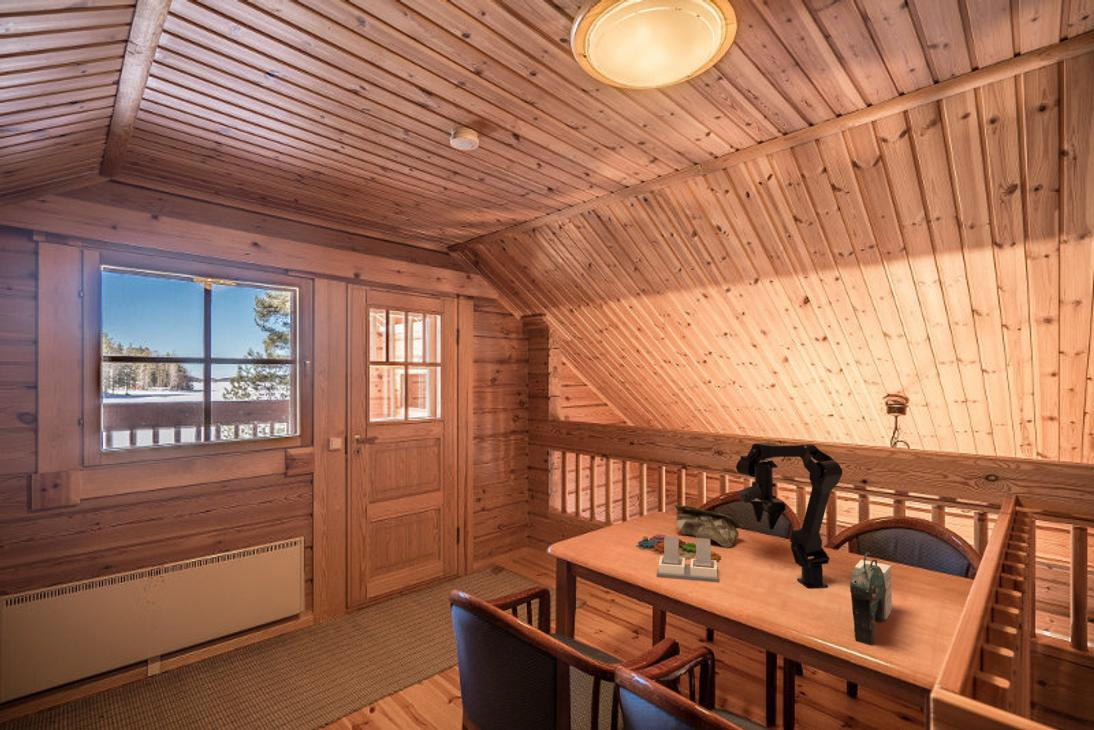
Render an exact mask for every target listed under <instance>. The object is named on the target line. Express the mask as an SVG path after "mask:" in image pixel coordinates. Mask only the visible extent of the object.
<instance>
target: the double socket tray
mask: <svg viewBox="0 0 1094 730" xmlns="http://www.w3.org/2000/svg"><path fill="white" fill-rule="evenodd" d="M717 561H718V560H711V568H705V567H696V558H694V559H691V560H690V564H689V563H686V560H685V558H679V564H680V565H669V564H665V561H664V555H660V556H659V562H658V568H657V570H656V571H657V572H656V578H666V579H678V580H687V581H688V580H689V581H697V582H698V581H699V582H710V583H719V582H720V579H719V566H718V565H717V564H718V562H717Z"/></svg>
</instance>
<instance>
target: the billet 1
mask: <svg viewBox="0 0 1094 730" xmlns="http://www.w3.org/2000/svg"><path fill="white" fill-rule="evenodd" d="M679 539H680V536H672V535H671V536H670V535H665V538H664V555H663V556H664V561H665V564H669V565H680V564H679Z"/></svg>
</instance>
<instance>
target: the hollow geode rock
mask: <svg viewBox="0 0 1094 730" xmlns="http://www.w3.org/2000/svg"><path fill="white" fill-rule="evenodd" d="M674 507H675V509H676V511H678V513H676V518H675V520H676V521H675V522H676V526H677V529H678V530H679V531H678V532H681V534H683V535H684V536H685V535H686V536H691V535H692V536H694V537H695V539H696V538H703V539H710V541H711V540H712V541H715V543H717V544H719V545H720V546H721V547H723V548H727V549H728V548H731V547H733V545H734V542H735V539H737V538H739V531H738V529H743V528H744V527H743V525H742V524H741V523H740V522H738V521H736V520H735V519H734V518H732V517H730V516H728V515H726V514H722V513H720V512H719V513H717V512H714V511H709V510H705V509H701V508H697V507H694V506H689V505H676V504H675V505H674Z"/></svg>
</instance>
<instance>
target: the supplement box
mask: <svg viewBox="0 0 1094 730" xmlns="http://www.w3.org/2000/svg"><path fill="white" fill-rule="evenodd" d="M871 561H872V560H871ZM871 561H870V560H867V559H866V561H865V564H870V563H871ZM863 565H864V559H860V560H859V562H857V564H856V565H855V566H854V569H860V568H861V567H862V566H863ZM872 565H875V561H874V562H873V564H872ZM877 566H879V567H880V568H881V570H882V572H883V576H884V581H885V587H886V595H885V607H884V619H883V621H887V620H888V618H889V616H890V614H891V613H892V610H893V609H892V607H893V605H892V604H893V601H892V599H893V598H892V597H893V596H892V595H893V594H892V565H890V564H886V563H881V562H880V563H879V562H877Z"/></svg>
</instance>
